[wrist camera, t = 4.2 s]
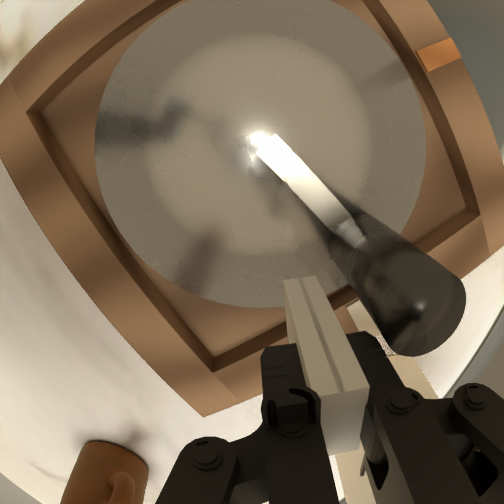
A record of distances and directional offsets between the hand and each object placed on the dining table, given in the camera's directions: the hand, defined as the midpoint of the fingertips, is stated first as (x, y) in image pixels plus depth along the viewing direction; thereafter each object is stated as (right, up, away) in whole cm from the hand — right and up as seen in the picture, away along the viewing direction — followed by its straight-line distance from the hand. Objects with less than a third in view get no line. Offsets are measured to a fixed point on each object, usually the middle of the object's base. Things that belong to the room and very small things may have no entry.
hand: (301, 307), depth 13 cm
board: (-2, +8, +3) cm, 9 cm away
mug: (-15, -18, +12) cm, 26 cm away
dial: (-2, +7, +1) cm, 8 cm away
